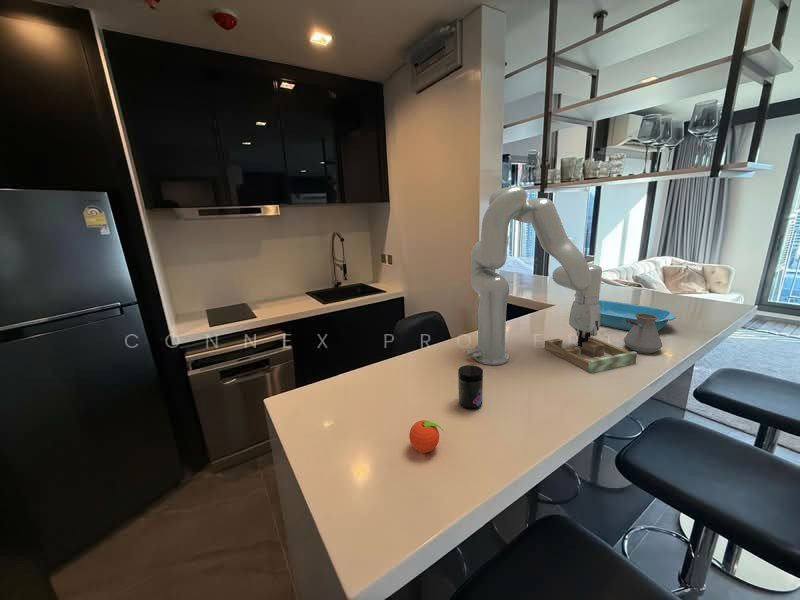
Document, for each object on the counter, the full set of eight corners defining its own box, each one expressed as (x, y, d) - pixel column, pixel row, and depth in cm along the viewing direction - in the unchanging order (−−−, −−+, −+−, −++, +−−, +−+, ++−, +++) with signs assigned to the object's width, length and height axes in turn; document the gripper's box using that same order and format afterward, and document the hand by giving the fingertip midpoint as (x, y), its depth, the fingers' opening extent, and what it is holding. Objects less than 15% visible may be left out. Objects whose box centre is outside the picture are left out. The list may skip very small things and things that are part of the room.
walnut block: (592, 357, 117) (593, 347, 116) (581, 352, 122) (582, 342, 121) (603, 355, 118) (604, 345, 117) (592, 350, 123) (593, 340, 122)
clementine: (442, 438, 80) (442, 412, 78) (445, 459, 73) (445, 431, 71) (410, 439, 80) (408, 413, 79) (409, 459, 74) (408, 432, 72)
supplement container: (470, 413, 89) (470, 379, 86) (453, 402, 94) (452, 369, 92) (487, 405, 92) (488, 371, 90) (470, 395, 98) (470, 362, 95)
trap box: (590, 373, 107) (592, 362, 106) (544, 348, 127) (545, 338, 126) (635, 363, 111) (637, 352, 110) (583, 340, 132) (584, 331, 131)
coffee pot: (631, 341, 129) (636, 304, 125) (667, 350, 120) (673, 310, 116) (602, 355, 118) (607, 315, 115) (639, 366, 109) (645, 324, 105)
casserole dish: (568, 321, 156) (569, 306, 154) (587, 310, 169) (589, 297, 168) (665, 341, 128) (668, 323, 126) (679, 326, 142) (681, 310, 140)
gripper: (563, 296, 125) (559, 341, 130) (595, 305, 112) (590, 355, 116) (579, 293, 127) (575, 338, 132) (613, 303, 114) (607, 352, 118)
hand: (582, 346), depth 124 cm, fingers closed
